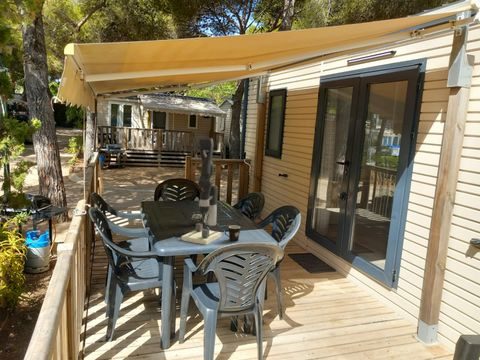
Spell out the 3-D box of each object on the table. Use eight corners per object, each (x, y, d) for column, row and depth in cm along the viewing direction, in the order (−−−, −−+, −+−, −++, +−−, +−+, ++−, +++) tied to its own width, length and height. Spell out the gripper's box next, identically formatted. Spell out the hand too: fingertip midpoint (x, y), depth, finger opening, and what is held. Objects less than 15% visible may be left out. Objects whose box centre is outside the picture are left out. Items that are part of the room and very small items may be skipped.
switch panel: (198, 232, 293) (198, 228, 293) (221, 236, 286) (221, 232, 285) (181, 240, 271) (181, 235, 271) (206, 244, 264) (206, 240, 263)
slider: (204, 235, 273) (204, 229, 272) (209, 236, 271) (209, 229, 270) (201, 237, 269) (201, 230, 269) (206, 237, 268) (206, 231, 267)
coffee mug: (238, 238, 282) (239, 225, 280) (240, 242, 273) (241, 228, 272) (223, 238, 280) (223, 225, 279) (224, 242, 272) (225, 228, 270)
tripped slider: (197, 229, 288) (198, 223, 288) (202, 230, 287) (202, 223, 286) (195, 230, 285) (195, 224, 284) (200, 231, 283) (200, 224, 283)
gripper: (204, 203, 297) (203, 224, 300) (195, 205, 285) (195, 228, 287) (212, 204, 294) (211, 225, 297) (204, 207, 282) (203, 229, 285)
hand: (203, 227), depth 292 cm, fingers closed
